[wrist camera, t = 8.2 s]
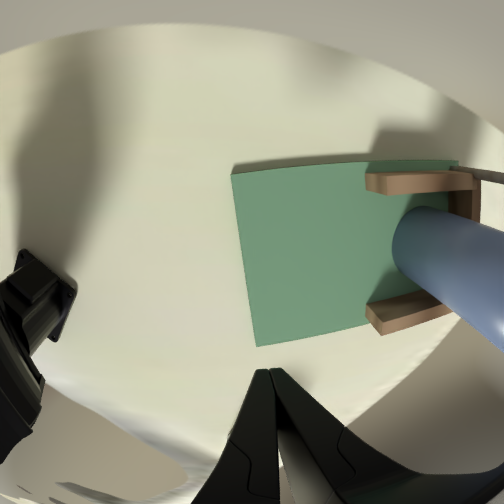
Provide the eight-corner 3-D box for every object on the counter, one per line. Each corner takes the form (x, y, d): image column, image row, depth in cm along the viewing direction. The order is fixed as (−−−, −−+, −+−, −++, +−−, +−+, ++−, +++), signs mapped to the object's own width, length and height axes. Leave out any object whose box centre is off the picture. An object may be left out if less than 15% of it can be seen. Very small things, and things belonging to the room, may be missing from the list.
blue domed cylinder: (416, 289, 22) (519, 375, 9) (378, 249, 20) (506, 340, 8) (454, 236, 21) (568, 294, 8) (421, 190, 19) (562, 233, 7)
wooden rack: (365, 316, 22) (429, 397, 12) (364, 167, 18) (468, 181, 9) (461, 287, 22) (530, 336, 13) (470, 165, 19) (558, 182, 9)
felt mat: (255, 342, 22) (256, 346, 22) (230, 174, 18) (230, 174, 18) (445, 296, 23) (449, 299, 23) (453, 160, 19) (458, 161, 18)
